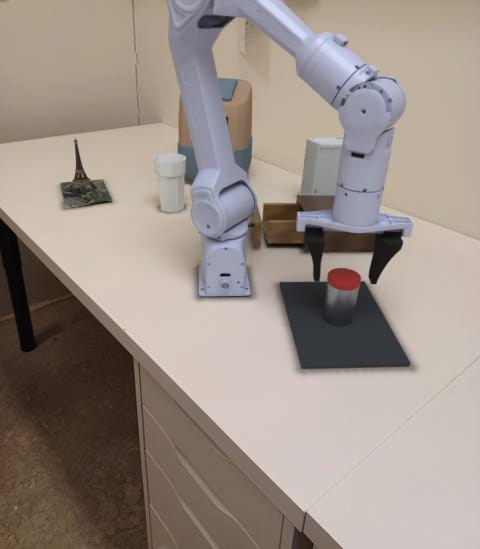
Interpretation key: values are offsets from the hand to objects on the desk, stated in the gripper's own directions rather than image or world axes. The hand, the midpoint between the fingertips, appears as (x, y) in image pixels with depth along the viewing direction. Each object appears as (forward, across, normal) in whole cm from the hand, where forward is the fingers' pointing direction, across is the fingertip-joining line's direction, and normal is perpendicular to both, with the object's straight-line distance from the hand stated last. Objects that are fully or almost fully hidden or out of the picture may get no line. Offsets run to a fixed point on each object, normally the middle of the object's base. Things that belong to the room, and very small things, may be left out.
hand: (344, 279), depth 65 cm
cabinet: (+7, -3, -28) cm, 29 cm away
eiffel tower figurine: (+7, +52, -44) cm, 68 cm away
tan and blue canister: (+7, +23, -60) cm, 64 cm away
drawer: (+6, +9, -26) cm, 28 cm away
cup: (+7, +31, -39) cm, 50 cm away
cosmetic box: (+7, -2, -44) cm, 44 cm away
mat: (+7, 0, 0) cm, 7 cm away
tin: (+6, 0, 0) cm, 6 cm away
